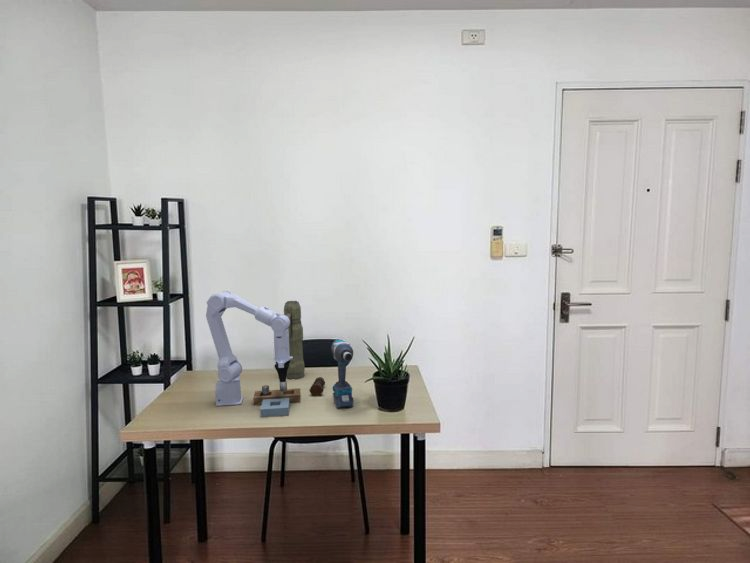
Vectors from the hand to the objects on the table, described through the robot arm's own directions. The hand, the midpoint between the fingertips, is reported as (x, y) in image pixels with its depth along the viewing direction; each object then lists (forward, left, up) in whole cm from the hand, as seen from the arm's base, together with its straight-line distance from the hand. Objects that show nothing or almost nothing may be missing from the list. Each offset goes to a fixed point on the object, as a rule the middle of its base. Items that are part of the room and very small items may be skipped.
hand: (283, 380), depth 191 cm
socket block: (-3, -7, -9) cm, 12 cm away
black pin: (-7, +4, -9) cm, 13 cm away
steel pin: (0, 0, -4) cm, 4 cm away
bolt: (+14, +14, -10) cm, 22 cm away
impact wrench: (+23, -6, -10) cm, 26 cm away
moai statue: (+3, +34, -10) cm, 35 cm away
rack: (-3, +4, -9) cm, 11 cm away
